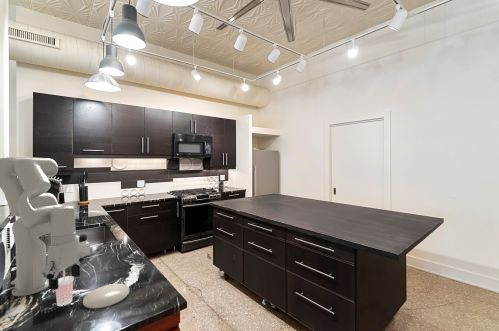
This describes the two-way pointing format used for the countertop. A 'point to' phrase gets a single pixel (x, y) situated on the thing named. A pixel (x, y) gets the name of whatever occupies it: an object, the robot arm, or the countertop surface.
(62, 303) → the beverage cup
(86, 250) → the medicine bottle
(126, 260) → the countertop surface
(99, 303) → the dish
